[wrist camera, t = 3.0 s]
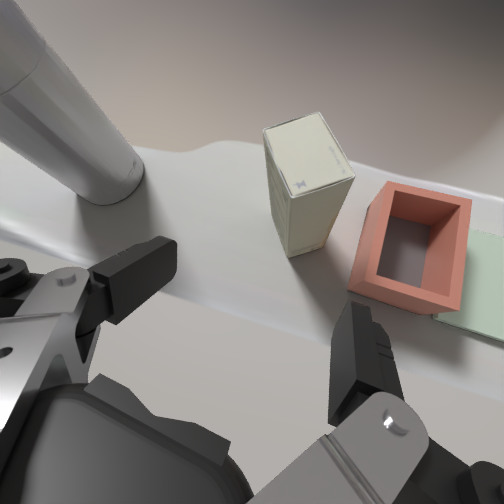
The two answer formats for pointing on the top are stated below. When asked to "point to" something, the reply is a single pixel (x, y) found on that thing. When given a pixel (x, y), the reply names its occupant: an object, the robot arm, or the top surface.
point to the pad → (481, 288)
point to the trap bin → (413, 249)
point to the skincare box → (305, 181)
